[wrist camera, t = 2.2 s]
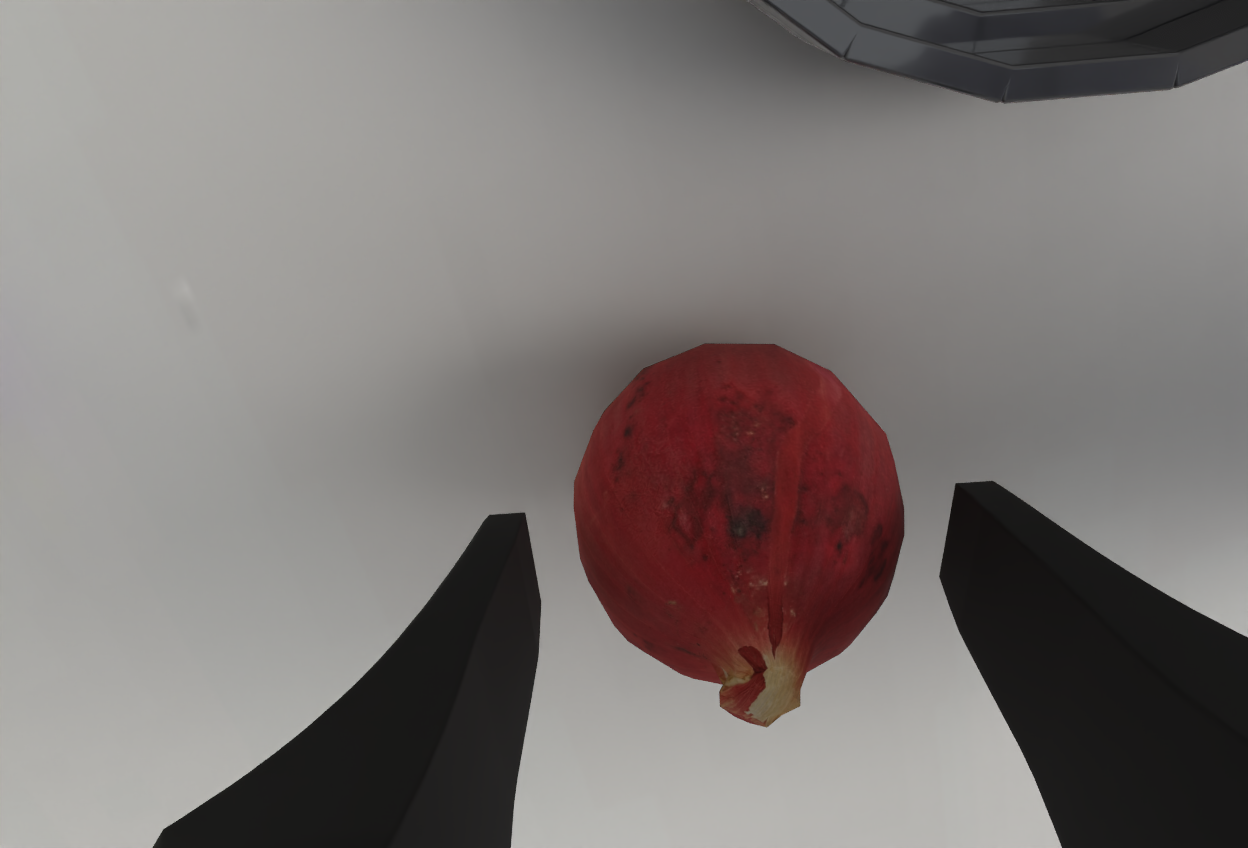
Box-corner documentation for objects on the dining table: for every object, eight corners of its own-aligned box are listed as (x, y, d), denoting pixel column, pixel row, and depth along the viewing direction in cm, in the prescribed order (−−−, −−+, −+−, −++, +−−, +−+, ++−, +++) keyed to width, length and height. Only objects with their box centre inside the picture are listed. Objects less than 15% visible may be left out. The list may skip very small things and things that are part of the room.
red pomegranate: (576, 283, 16) (543, 535, 9) (861, 277, 16) (1044, 526, 9) (588, 511, 19) (570, 830, 12) (827, 507, 19) (945, 825, 12)
